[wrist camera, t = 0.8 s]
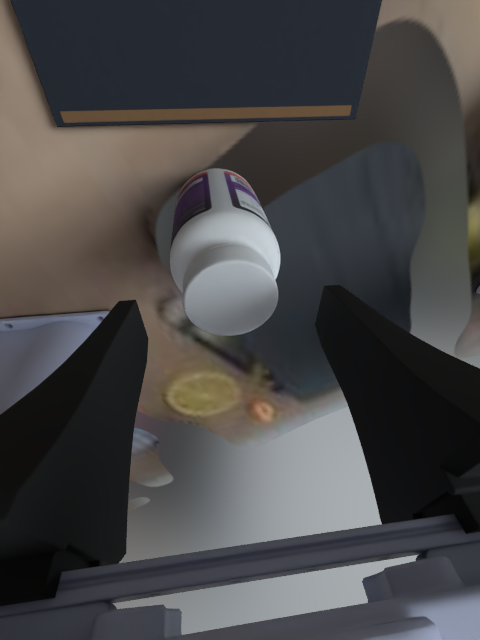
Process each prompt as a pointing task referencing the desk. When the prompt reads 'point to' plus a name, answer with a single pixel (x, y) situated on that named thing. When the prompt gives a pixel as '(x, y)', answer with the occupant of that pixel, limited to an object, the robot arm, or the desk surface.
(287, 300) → the desk surface
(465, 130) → the desk surface
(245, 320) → the pill bottle
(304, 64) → the felt pad
